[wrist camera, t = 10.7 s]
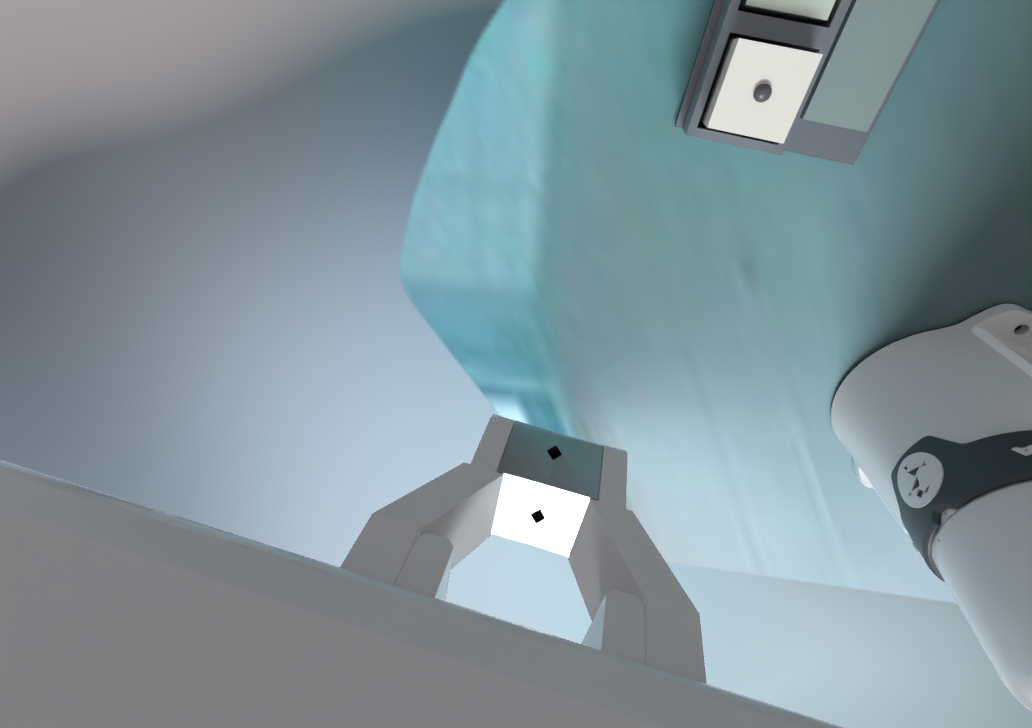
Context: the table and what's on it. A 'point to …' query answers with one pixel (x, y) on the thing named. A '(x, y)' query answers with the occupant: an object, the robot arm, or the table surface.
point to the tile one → (759, 89)
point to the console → (817, 71)
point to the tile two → (790, 9)
